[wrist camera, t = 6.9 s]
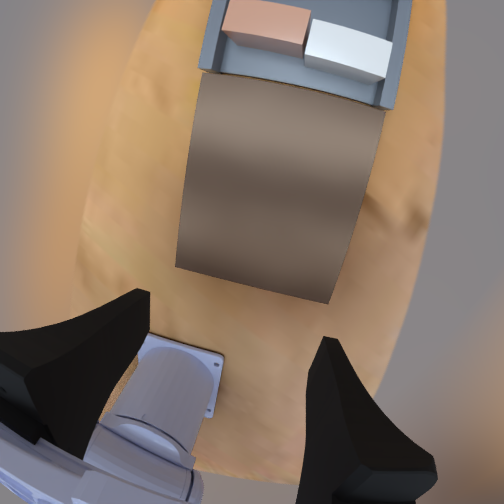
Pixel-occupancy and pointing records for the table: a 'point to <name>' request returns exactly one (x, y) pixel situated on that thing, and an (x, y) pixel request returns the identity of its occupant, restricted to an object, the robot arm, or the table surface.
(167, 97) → the table surface
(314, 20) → the tile cream
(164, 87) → the table surface
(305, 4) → the tray
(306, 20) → the tile terracotta
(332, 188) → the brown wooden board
